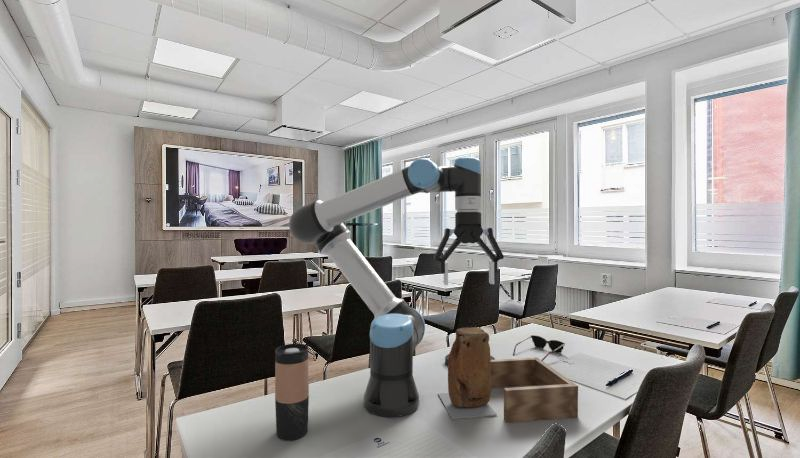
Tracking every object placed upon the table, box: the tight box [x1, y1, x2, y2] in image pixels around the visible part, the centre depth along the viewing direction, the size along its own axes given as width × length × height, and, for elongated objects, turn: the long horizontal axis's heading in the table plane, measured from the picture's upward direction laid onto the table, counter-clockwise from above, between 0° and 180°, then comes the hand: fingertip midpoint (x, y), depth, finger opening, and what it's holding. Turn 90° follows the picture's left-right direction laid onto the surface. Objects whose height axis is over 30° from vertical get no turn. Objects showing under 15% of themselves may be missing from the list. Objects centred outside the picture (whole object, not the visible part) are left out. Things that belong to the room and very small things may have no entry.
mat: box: [437, 392, 498, 420], centre depth 105 cm, size 12×14×1 cm
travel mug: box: [274, 343, 310, 442], centre depth 91 cm, size 8×8×20 cm
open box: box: [490, 357, 579, 424], centre depth 108 cm, size 19×21×8 cm
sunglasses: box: [512, 335, 566, 362], centre depth 146 cm, size 14×16×5 cm
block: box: [447, 326, 492, 407], centre depth 105 cm, size 11×8×20 cm
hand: (468, 284), depth 113 cm, fingers open, 13 cm apart
